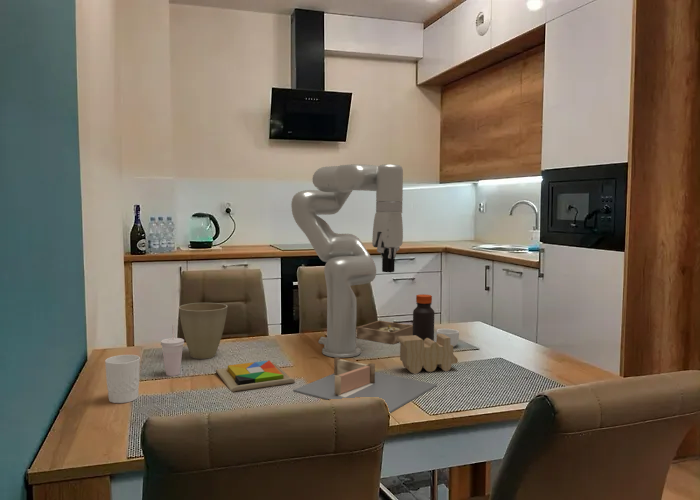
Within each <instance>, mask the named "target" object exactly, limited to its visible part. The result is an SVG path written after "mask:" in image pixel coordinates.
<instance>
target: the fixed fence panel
mask: <svg viewBox="0 0 700 500" xmlns="http://www.w3.org/2000/svg"><path fill="white" fill-rule="evenodd" d="M333 359H334V363H333V365H334V367H333V369H334V370H333V374H334V375H340V374H343V373H346V372H349V371H352V370H355V369H358V368H361V367H364V366H369V367H370V383H371V384H373V383H375V372H376V364H375V363H368V364H367V363H361V362H357V361H351V360H345V359H342V358H339V357H333Z"/></svg>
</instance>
